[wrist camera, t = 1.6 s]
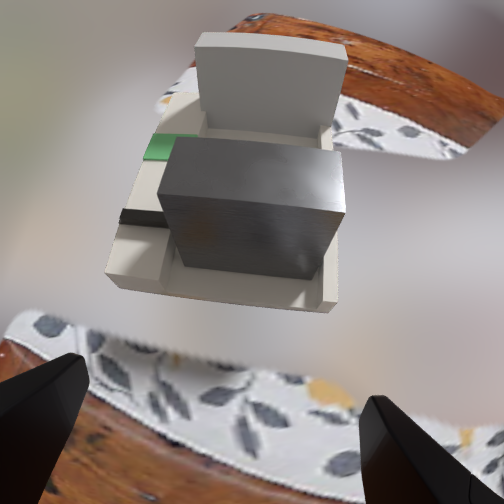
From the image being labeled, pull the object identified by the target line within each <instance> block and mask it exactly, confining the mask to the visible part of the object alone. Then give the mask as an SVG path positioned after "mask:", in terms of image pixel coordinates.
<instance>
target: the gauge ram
mask: <svg viewBox="0 0 504 504" xmlns="http://www.w3.org/2000/svg"><path fill="white" fill-rule="evenodd" d="M157 196H158V199H159V202H160V205H161V207H162V210H163V211H150V210H138V209H124V208H123V210H122V212H121V215H120V220H121V222H122V223H131V224H142V225H153V226H163V227H169V229H170V231H171V234H172V236H173V239H174V241H175V244H176V247H177V249H178V252H179V254H180V257H181V259H182V262H183V264H184V266H185V267H193V268H202V269H210V270H219V271H228V272H237V273H246V274H255V275H265V276H274V277H284V278H293V279H303V280H312V279H313V277H314V275H315V273H316V271H317V269H318V267H319V265H320V263H321V261H322V259H323V257H324V255H325V253H326V251H327V249H328V247H329V245H330V243H331V241H332V239H333V237H334V235H335V233H336V231H337V229H338V227H339V225H340V223H341V221H342V219H343V217H344V215H345V213H346V212H345V196H344V183H343V171H342V159H341V152H337V151H331V150H324V149H317V148H310V147H302V146H294V145H286V144H277V143H267V142H257V141H246V140H233V139H218V138H200V137H176V140H175V142H174V145H173V148H172V150H171V153H170V156H169V159H168V161H167V164H166V167H165V170H164V173H163V176H162V179H161V182H160V185H159V188H158V191H157Z"/></svg>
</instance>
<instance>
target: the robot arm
mask: <svg viewBox="0 0 504 504" xmlns="http://www.w3.org/2000/svg"><path fill="white" fill-rule="evenodd" d="M88 387H89V375H88V371H87V367H86V363H85V359H84V357H83V356H81V355H78V354H75V353H67V354H65V355H62V356H60V357H58V358H56V359H53V360H51V361H49V362H47V363H44V364H42V365H40V366H37V367H35V368H33V369H31V370H28V371H26V372H24V373H21V374H19V375H17V376H14V377H12V378H10V379H8V380H5V381H3V382H1V383H0V504H38V502H39V500H40V498H41V495H42V493H43V491H44V489H45V486H46V484H47V482H48V480H49V477H50V475H51V473H52V471H53V469H54V467H55V464H56V462H57V460H58V458H59V456H60V454H61V452H62V450H63V448H64V446H65V444H66V441H67V439H68V437H69V435H70V433H71V431H72V429H73V426H74V424H75V421H76V419H77V416H78V413H79V410H80V408H81V405H82V402H83V400H84V397H85V395H86V392H87V389H88ZM359 436H360V456H361V474H362V481H363V488H364V494H365V501H366V504H504V499H503V498H502V497H500V496H499V495H497V494H496V493H495V492H493V491H492V490H491V489H490V488H489V487H487V486H486V485H485V484H484V483H482V482H481V481H480V480H479V479H478V478H477V477H476V476H474V475H473V474H471V472H470V471H469V470H468V469H466V468H465V467H464V466H463V465H462V464H461V463H460V462H459V461H457V460H456V459H455V458H454V457H453V456H452V455H451V454H450V453H448V452H447V451H446V450H445V449H444V448H443V447H442V446H441V445H440V444H438V443H437V442H436V441H435V440H434V439H433V438H432V437H431V436H429V435H428V434H427V433H426V432H425V431H424V430H423V429H422V428H421V427H420V426H418V425H417V424H416V423H415V422H414V421H413V420H412V419H411V418H410V417H408V416H407V415H406V414H405V413H404V412H403V411H402V410H401V409H400V408H399V407H397V406H396V405H395V404H394V403H393V402H392V401H391V400H390V399H389V398H388V397H386V396H384V395H374V396H370V397H369V398H368V400H367V402H366V405H365V407H364V409H363V411H362V413H361V416H360V419H359Z"/></svg>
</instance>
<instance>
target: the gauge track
mask: <svg viewBox="0 0 504 504" xmlns="http://www.w3.org/2000/svg"><path fill="white" fill-rule="evenodd" d="M194 49H195V59H196V69H197V79H198V88H199V93H173V96H172V98H171V100H170V102H169V104H168V106H167V108H166V110H165V112H164V114H163V117H162V119H161V121H160V123H159V125H158V127H157V129H156V132H155V133H154V134H153V136H152V138H151V140H150V143H149V145H148V147H147V150H146V152H145V154H144V157H143V162H142V165H141V167H140V170H139V172H138V175H137V177H136V180H135V183H134V185H133V188H132V190H131V193H130V196H129V198H128V201H127V204H126V207H125V209H138V210H150V211H163V210H162V207H161V205H160V202H159V199H158V196H157V191H158V188H159V185H160V182H161V179H162V176H163V173H164V170H165V167H166V164H167V161H168V159H169V156H170V153H171V150H172V148H173V145H174V142H175V140H176V137H200V138H218V139H233V140H246V141H257V142H267V143H277V144H286V145H294V146H302V147H310V148H317V149H324V150H331V151H333V143H332V132H331V125H332V122H333V118H334V114H335V110H336V107H337V103H338V99H339V95H340V91H341V87H342V84H343V80H344V76H345V72H346V68H347V64H348V58H347V54H346V51H345V47H344V45H341V44H335V43H330V42H324V41H317V40H311V39H303V38H296V37H287V36H277V35H266V34H251V33H224V32H221V33H220V32H214V33H213V32H205V33H204V32H203V33H202V35H201V36H200V38H199V40H198V41H197V43H196V45H195V46H194ZM105 274H106V275H107V276H108V277H109V278H110V279H111V280H112V281H113V282H114V283H115V284H116V285H117V286H118V287H119V288H122V289H128V290H134V291H141V292H147V293H154V294H161V295H168V296H175V297H183V298H189V299H197V300H206V301H213V302H221V303H229V304H238V305H247V306H256V307H265V308H275V309H285V310H296V311H307V312H319V313H329V312H330V311H331V309H332V308H333V307H334V306H335V305H336V304H337V302H338V235H337V231H336V233H335V235H334V237H333V239H332V241H331V243H330V245H329V247H328V249H327V251H326V253H325V255H324V257H323V259H322V261H321V263H320V265H319V267H318V269H317V271H316V273H315V275H314V277H313V279H312V280H303V279H293V278H284V277H274V276H265V275H255V274H246V273H237V272H228V271H219V270H210V269H202V268H193V267H185V266H184V264H183V262H182V259H181V257H180V254H179V252H178V249H177V247H176V244H175V241H174V239H173V236H172V234H171V231H170V229H169V227H163V226H153V225H142V224H131V223H122V222H121V220H119V227H118V230H117V233H116V236H115V239H114V243H113V246H112V249H111V252H110V256H109V259H108V262H107V265H106V269H105Z"/></svg>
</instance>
